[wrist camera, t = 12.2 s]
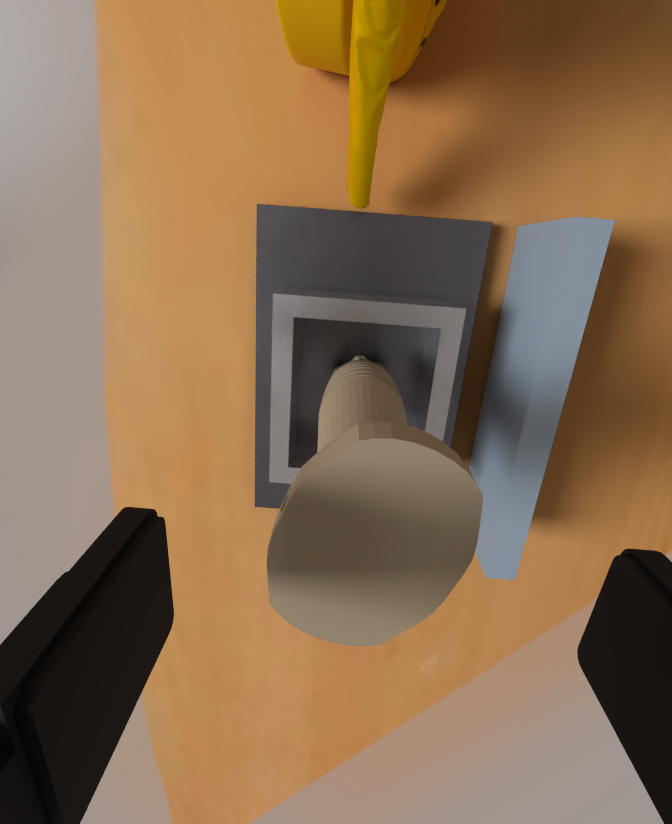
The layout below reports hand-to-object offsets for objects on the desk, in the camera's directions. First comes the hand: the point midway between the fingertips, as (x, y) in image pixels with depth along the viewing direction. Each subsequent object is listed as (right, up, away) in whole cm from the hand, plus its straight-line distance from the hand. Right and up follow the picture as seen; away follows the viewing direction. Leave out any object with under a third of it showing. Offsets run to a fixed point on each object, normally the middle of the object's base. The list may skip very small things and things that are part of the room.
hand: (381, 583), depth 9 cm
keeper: (0, +6, +17) cm, 18 cm away
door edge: (+9, +5, +17) cm, 19 cm away
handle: (0, +5, +16) cm, 17 cm away
